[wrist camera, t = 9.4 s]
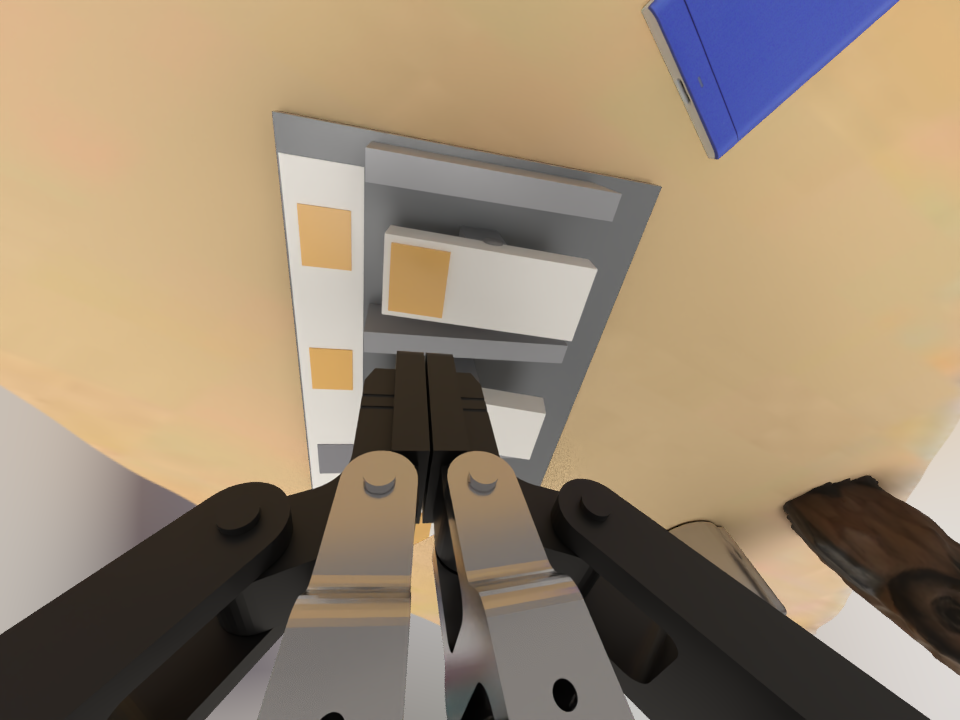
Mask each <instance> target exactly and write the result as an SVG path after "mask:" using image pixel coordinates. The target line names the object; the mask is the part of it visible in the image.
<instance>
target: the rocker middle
mask: <svg viewBox="0 0 960 720" xmlns="http://www.w3.org/2000/svg"><path fill="white" fill-rule="evenodd" d="M482 391H483V395H484V401H485V402H486V406H487V412H488V414H489V418H490V421H491V425H492V429H493V433H494V437H495V440H496V444H497V448H498V452H499V455H502V456H508V457H514V458H521V459H527V460H530V457H531V454H532V451H533V448H534V446H535V443H536V440H537V437H538V435H539V432H540V429H541V426H542V424H543V421H544V418H545V415H546V411H545V406H544V400H543V398H541V397H535V396H529V395H523V394H517V393H511V392H505V391H499V390H493V389H487V388H482Z"/></svg>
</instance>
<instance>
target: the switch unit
mask: <svg viewBox="0 0 960 720" xmlns="http://www.w3.org/2000/svg"><path fill="white" fill-rule="evenodd" d="M272 116H273V125H274V135H275V144H276V154H277V163H278V173H279V182H280V192H281V201H282V211H283V220H284V230H285V239H286V248H287V258H288V267H289V277H290V286H291V296H292V305H293V315H294V324H295V334H296V343H297V352H298V362H299V371H300V381H301V390H302V400H303V409H304V419H305V428H306V438H307V447H308V457H309V466H310V475H311V485H312V489H314V488H317V487H320V486H322V485H324V484H326V483H328V482H330V481H332V480H333V479H335V478H336V477H337V476H339V475H340V474H341V473H342V472H343V470H344V469H345V467H346V466H347V465H348V464H349V462H350V460H351V456H352V452H353V446H354V440H355V434H356V428H357V422H358V416H359V410H360V404H361V399H362V393H363V387H364V381H365V379H366V378H367V376H368V375H369V374H370V373H371V372H372V371H373V370H374V369H375V368H383V369H396V355H397V351H411V352H424V359H425V354H426V352H428V353H443V354H453V358H454V363H455V369H456V372H461V373H471V374H472V375H473V376H474V378H475V379H476V380H477V381H478V382H479V383H480V384H481V387H482V388H487V389H493V390H499V391H505V392H511V393H517V394H523V395H529V396H535V397H541V398H543V400H544V406H545V411H546V415H545V418H544V421H543V424H542V426H541V429H540V432H539V435H538V437H537V440H536V443H535V446H534V448H533V451H532V454H531V457H530V460H527V459H521V458H514V457H508V456H502V455H500V458H502V459H503V460H504V461H506V462H507V463H508V464H509V465H510V466H511V468H512V469H513V471H514V473H515V475H516V477H518V478H520V479H521V480H523V481H525V482H527V483H530V484H533V485H537V486H540V485H541V483H542V480H543V478H544V475H545V473H546V470H547V468H548V465H549V463H550V460H551V458H552V456H553V453H554V451H555V448H556V446H557V443H558V441H559V438H560V436H561V433H562V431H563V429H564V426H565V424H566V421H567V419H568V416H569V414H570V411H571V409H572V406H573V404H574V401H575V399H576V397H577V394H578V392H579V389H580V387H581V384H582V382H583V379H584V377H585V374H586V372H587V369H588V367H589V365H590V362H591V360H592V357H593V355H594V352H595V350H596V347H597V345H598V342H599V340H600V338H601V335H602V333H603V330H604V328H605V325H606V323H607V320H608V318H609V315H610V313H611V310H612V308H613V306H614V303H615V301H616V298H617V296H618V293H619V291H620V288H621V286H622V283H623V281H624V279H625V276H626V274H627V271H628V269H629V266H630V264H631V261H632V259H633V256H634V254H635V251H636V249H637V247H638V244H639V242H640V239H641V237H642V234H643V232H644V229H645V227H646V224H647V222H648V219H649V217H650V215H651V212H652V210H653V207H654V205H655V202H656V200H657V197H658V195H659V192H660V190H661V188H662V187H661V186H658V185H654V184H651V183H646V182H640V181H635V180H630V179H625V178H620V177H615V176H610V175H604V174H599V173H594V172H589V171H584V170H579V169H574V168H568V167H563V166H558V165H553V164H548V163H543V162H538V161H532V160H527V159H522V158H517V157H512V156H507V155H502V154H496V153H491V152H486V151H481V150H476V149H471V148H466V147H461V146H455V145H450V144H445V143H440V142H435V141H430V140H425V139H419V138H414V137H409V136H404V135H399V134H394V133H389V132H383V131H378V130H373V129H368V128H363V127H358V126H353V125H347V124H342V123H337V122H332V121H327V120H322V119H317V118H311V117H306V116H301V115H296V114H291V113H286V112H281V111H272ZM390 225H394V226H399V227H405V228H411V229H417V230H423V231H428V232H434V233H440V234H446V235H451V236H457V237H463V238H469V239H475V240H480V241H483V238H485V237H491V238H496V239H499V240H501V241H503V245H509V246H515V247H521V248H527V249H532V250H538V251H544V252H550V253H555V254H561V255H567V256H573V257H579V258H584V259H589V260H590V261H591V263H592V264H593V265H594V266H595V267H596V268H597V269H598V270H597V273H596V276H595V278H594V281H593V284H592V287H591V289H590V292H589V295H588V298H587V300H586V303H585V306H584V309H583V312H582V314H581V317H580V320H579V323H578V325H577V328H576V331H575V334H574V337H573V339H572V341H566V340H559V339H552V338H545V337H538V336H531V335H524V334H517V333H511V332H504V331H497V330H490V329H483V328H476V327H469V326H462V325H455V324H448V323H441V322H434V321H427V320H420V319H413V318H406V317H399V316H392V315H385V314H382V290H383V263H384V236H385V232H386V231H387V229H388V228H389V227H390Z"/></svg>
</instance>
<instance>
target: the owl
mask: <svg viewBox="0 0 960 720" xmlns="http://www.w3.org/2000/svg"><path fill="white" fill-rule="evenodd" d="M784 511H785V512H786V513H787V514H788V516H787V519H789V520H790V522H791V523H792V525H791V528H792V529H793V530H794V531H795V532H796V533H797V534H798V535H799V536H800V537H801V538H802V539H803V540H804V542H805V543H806V544H807V545H808V546H809V548H810V549H811V550H812V551H813V552H814V553H815V554H816V555H817V556H818V557H819V559H820V560H821V561H822V562H823V563H824V564H826V565H827V566H828V567H829V568H831V569H832V570H833V571H835V572H836V573H837V574H838V575H839V576H840V577H841V578H842V579H843V581H844V582H845V583H846V584H847V585H848V586H849V587H850V588H851V589H852V590H854V591H855V592H856V593H858V594H859V595H860V596H861V597H863V598H864V599H865V600H866V601H868V602H869V603H870V604H871V605H873V606H874V607H875V608H877V609H878V610H879V611H880V612H881V613H883V614H884V615H885V616H886V617H888V618H889V619H891V620H892V621H893V622H894V623H895V624H896V625H898V626H899V627H900V628H901V629H902V630H903V631H905V632H906V633H907V634H909V635H910V636H911V637H912V638H913V639H915V640H916V641H917V642H919V643H920V644H921V645H923V646H924V647H925V648H926V649H927V650H928V651H930V652H931V653H932V655H933V656H934V657H935V658H936V659H938V660H939V661H940V662H942V663H943V664H945V665H946V666H948V667H949V668H950V669H952V670H953V671H954V672H956V673H957V674H958V675H960V544H959V543H957V542H955V541H954V540H953V539H951V538H950V537H949V536H948V535H947V534H946V533H945V532H944V531H943V530H942V529H941V528H940V527H939V526H938V525H937V524H936V523H935V522H934V521H933V520H932V519H930V518H929V517H928V516H926V515H925V514H923V513H921V512H920V511H919V510H917V509H916V508H914V507H912V506H910V505H908V504H907V503H905V502H903V501H901V500H899V499H897V498H895V497H894V496H892V495H891V494H889V493H887V492H886V491H884V490H883V489H882V488H880V487H879V486H878V481H876V479H874V478H872V477H871V476H863V477H861V478H858V479H855V480H852V481H850V478H849V479H846V480H843V481H841V482H838V483H833V484H832V483H831V482H828V483H826V484H824V485H822V486H820V487H817V488H814V489H812V490H811V491H809V492H807V493H806V494H804V495H802V496H800V497H798V498H796V499H793V500H791V501H788V502H787V503H786V504H785V505H784Z"/></svg>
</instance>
